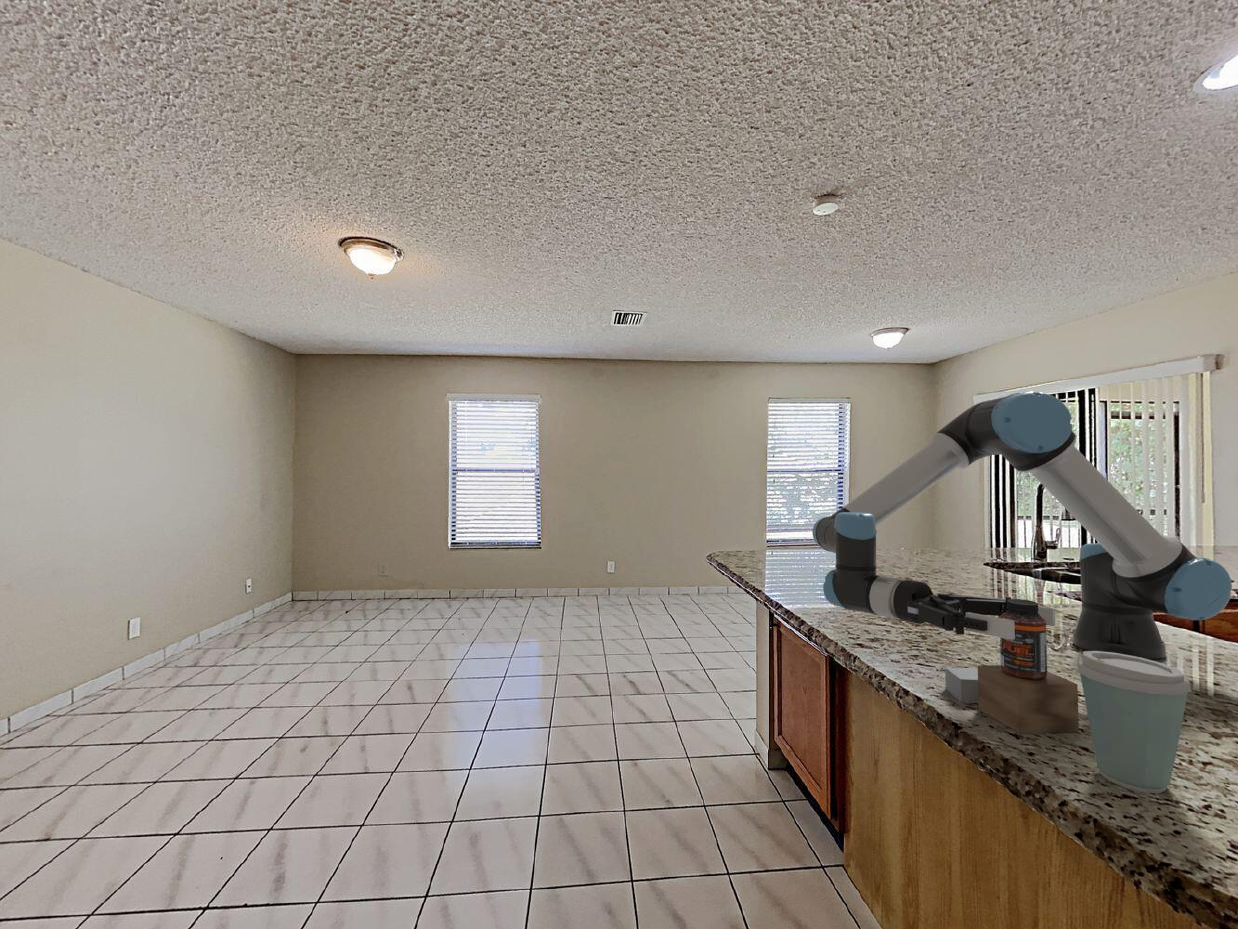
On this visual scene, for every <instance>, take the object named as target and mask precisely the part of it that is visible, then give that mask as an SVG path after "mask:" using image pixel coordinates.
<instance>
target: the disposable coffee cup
mask: <svg viewBox="0 0 1238 929" xmlns="http://www.w3.org/2000/svg"><path fill="white" fill-rule="evenodd" d="M1076 673H1079V675H1080V679H1081V680H1080V681H1081V685H1082V692H1083V696H1084V697H1083V698H1084V703H1085V706H1086V707H1085V708H1086V712H1087V718H1088V723H1089V724H1088V725H1089V730H1090V735H1091V741H1092V746H1093V751H1094V756H1095V763H1096V767H1097V768H1098V770H1099V774H1100V776H1102V777H1104V778H1105V779H1106V780H1107V781H1108V782H1111V783H1113V784H1116V785H1117V786H1120V787H1123V788H1125V789H1128V790H1131V789H1132V791H1135V790H1136V792H1138V793H1139V792H1140V793H1143V792H1144V794H1145V792H1146V793H1147V794H1157V793H1158V794H1160V793H1163V792H1166V791H1167V788H1168V786H1170V785H1171V779H1172V774H1173V771H1174V765H1175V760H1176V756H1177V750H1178V745H1179V741H1180V735H1181V731H1182V726H1183V721H1184V716H1185V709H1186V705H1187V701H1188V696H1189V693H1190V692H1192V689H1191V683H1190V681H1189V678H1188V677H1187V676H1186V675H1185V674H1184V673H1183V672H1182V671H1181V670H1180V669H1177V668H1176V667H1173V666H1170V665H1168V664H1166V663H1163V662H1159V661H1155V660H1153V659H1145V658H1141V657H1136V656H1130V655H1124V654H1119V653H1112V652H1102V651H1089V650H1086V651H1085V650H1084V651H1082V657H1079V658H1078V659H1077V665H1076Z"/></svg>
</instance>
